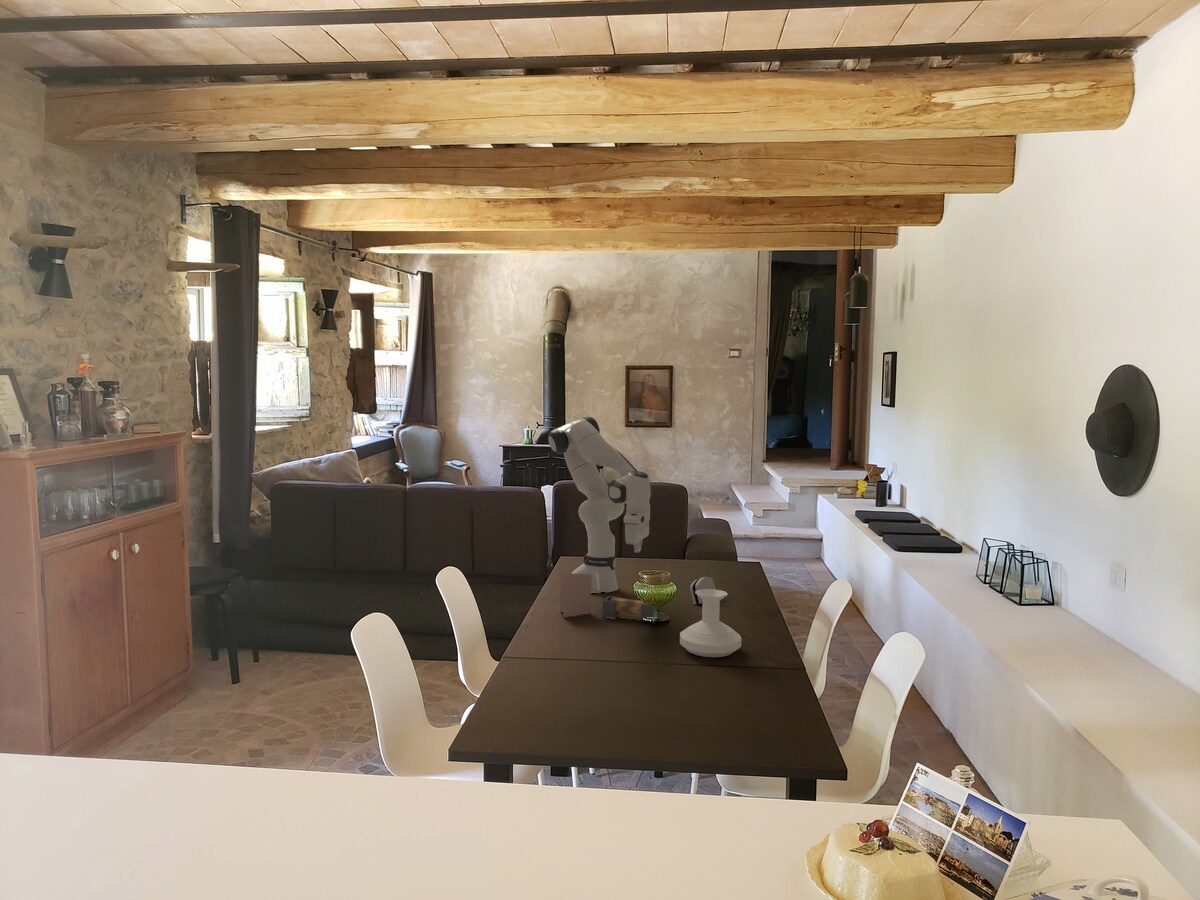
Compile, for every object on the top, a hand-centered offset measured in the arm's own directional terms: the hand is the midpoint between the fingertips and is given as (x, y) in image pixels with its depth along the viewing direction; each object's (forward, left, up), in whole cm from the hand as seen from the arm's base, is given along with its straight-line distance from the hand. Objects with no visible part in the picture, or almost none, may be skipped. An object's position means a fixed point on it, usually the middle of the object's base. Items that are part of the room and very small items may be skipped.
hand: (637, 551), depth 307 cm
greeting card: (-21, -12, -23) cm, 33 cm away
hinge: (+20, +26, -24) cm, 41 cm away
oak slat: (0, -8, -21) cm, 22 cm away
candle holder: (+34, -34, -23) cm, 54 cm away
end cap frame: (0, -8, -23) cm, 24 cm away
